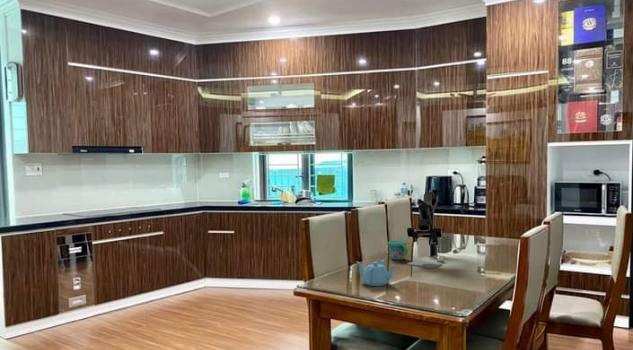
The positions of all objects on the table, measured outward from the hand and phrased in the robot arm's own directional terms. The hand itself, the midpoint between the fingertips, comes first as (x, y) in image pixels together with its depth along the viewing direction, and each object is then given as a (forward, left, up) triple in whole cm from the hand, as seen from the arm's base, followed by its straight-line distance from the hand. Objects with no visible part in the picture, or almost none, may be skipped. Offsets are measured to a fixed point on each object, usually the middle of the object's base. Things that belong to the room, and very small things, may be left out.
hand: (423, 244), depth 252 cm
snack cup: (-22, +6, -12) cm, 25 cm away
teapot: (+1, -45, -12) cm, 46 cm away
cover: (-1, +1, -7) cm, 7 cm away
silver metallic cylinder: (+2, +13, -11) cm, 18 cm away
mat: (-1, +1, -11) cm, 12 cm away
